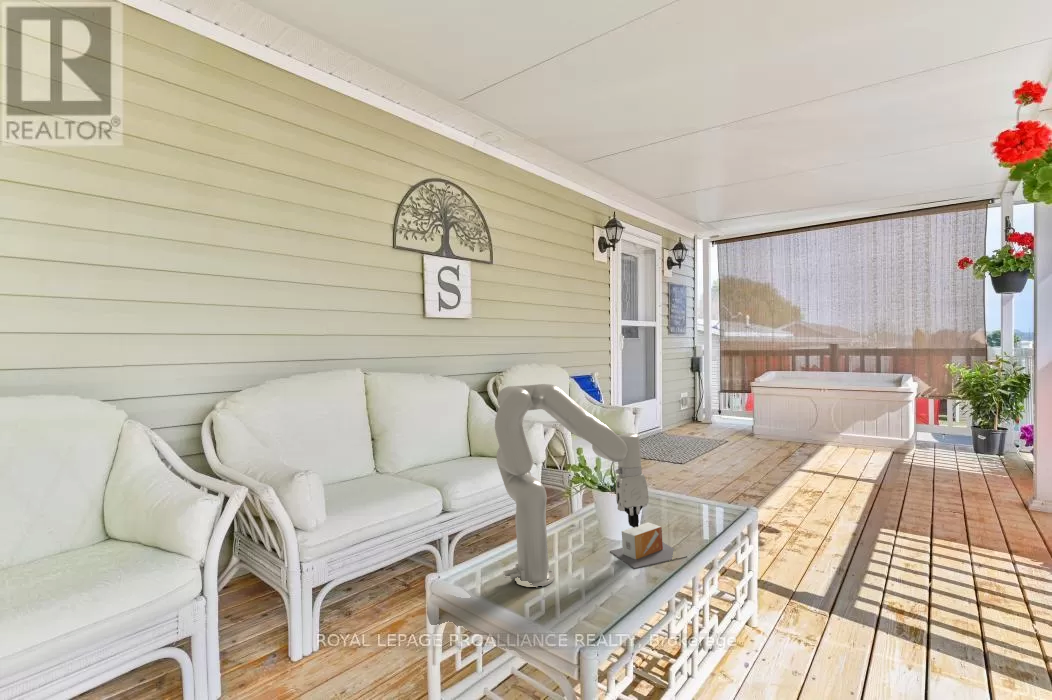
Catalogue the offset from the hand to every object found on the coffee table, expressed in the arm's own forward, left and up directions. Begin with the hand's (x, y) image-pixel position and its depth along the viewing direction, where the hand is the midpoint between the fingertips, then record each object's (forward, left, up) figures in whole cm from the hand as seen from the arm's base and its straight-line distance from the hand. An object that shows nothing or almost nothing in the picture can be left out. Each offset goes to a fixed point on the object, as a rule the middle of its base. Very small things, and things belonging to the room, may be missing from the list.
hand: (633, 525), depth 170 cm
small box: (-2, +1, -6) cm, 7 cm away
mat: (+5, +1, -11) cm, 12 cm away
